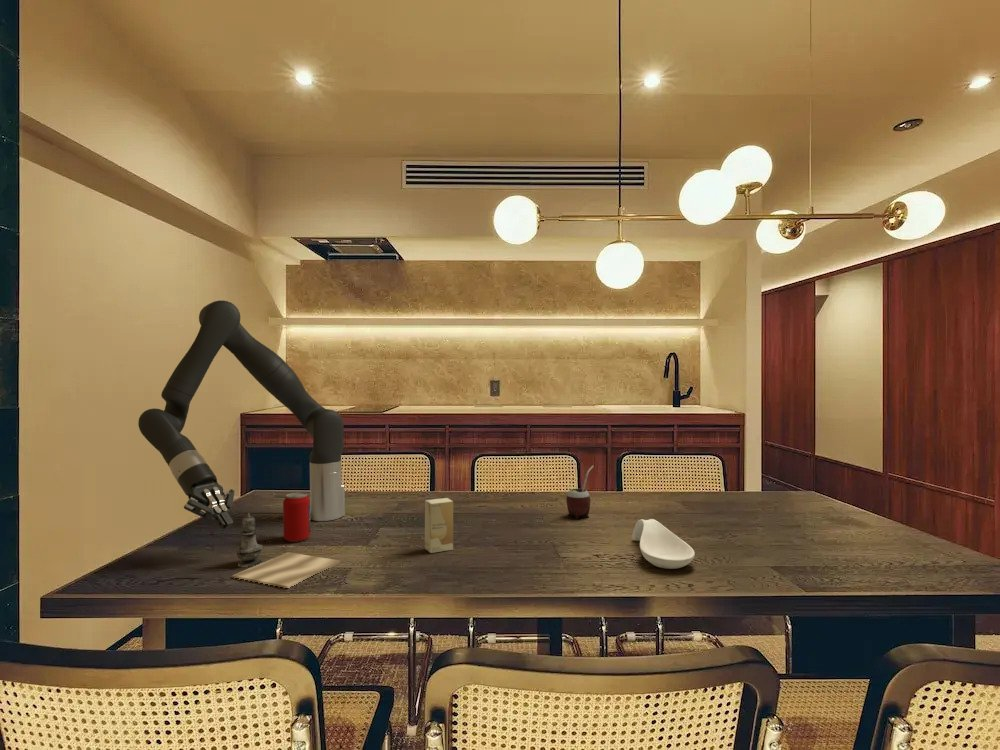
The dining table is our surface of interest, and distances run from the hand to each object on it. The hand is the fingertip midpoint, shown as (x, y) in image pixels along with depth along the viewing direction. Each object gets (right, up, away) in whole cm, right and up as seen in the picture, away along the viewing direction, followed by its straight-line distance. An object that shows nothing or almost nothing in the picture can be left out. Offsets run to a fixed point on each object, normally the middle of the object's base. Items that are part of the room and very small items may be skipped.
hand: (228, 526), depth 129 cm
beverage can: (+11, -8, +15) cm, 20 cm away
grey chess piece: (+6, -8, -3) cm, 10 cm away
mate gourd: (+89, -6, +33) cm, 95 cm away
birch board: (+17, -8, -7) cm, 20 cm away
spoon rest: (+102, -7, -1) cm, 102 cm away
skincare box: (+50, -7, +5) cm, 51 cm away
